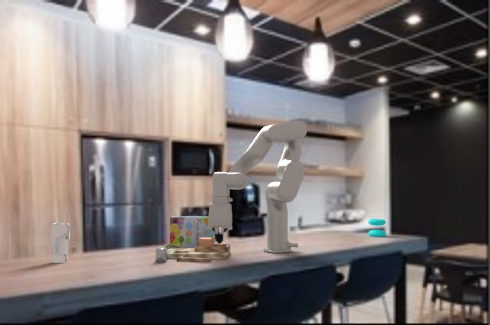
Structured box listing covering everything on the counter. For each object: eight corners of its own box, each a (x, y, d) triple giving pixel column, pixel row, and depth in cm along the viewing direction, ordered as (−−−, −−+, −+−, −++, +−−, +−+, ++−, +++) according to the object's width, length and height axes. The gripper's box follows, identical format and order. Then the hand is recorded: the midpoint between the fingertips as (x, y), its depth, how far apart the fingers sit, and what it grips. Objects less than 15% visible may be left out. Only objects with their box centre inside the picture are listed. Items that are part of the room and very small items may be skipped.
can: (168, 260, 168) (168, 247, 168) (165, 262, 163) (165, 249, 164) (157, 260, 168) (157, 247, 168) (154, 262, 164) (154, 249, 164)
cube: (212, 249, 184) (212, 237, 184) (210, 250, 179) (210, 239, 179) (201, 248, 184) (201, 237, 184) (199, 250, 179) (199, 238, 179)
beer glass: (50, 264, 159) (51, 224, 160) (49, 261, 165) (50, 223, 166) (70, 262, 162) (71, 223, 163) (68, 260, 168) (69, 222, 169)
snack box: (215, 247, 204) (215, 216, 205) (213, 248, 198) (213, 216, 199) (172, 246, 206) (172, 215, 207) (169, 248, 200) (169, 216, 201)
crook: (214, 261, 167) (214, 257, 167) (209, 263, 162) (209, 259, 162) (182, 259, 171) (182, 255, 171) (176, 261, 166) (176, 257, 166)
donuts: (364, 218, 251) (379, 218, 254) (365, 235, 251) (379, 235, 254) (374, 220, 242) (389, 219, 245) (374, 237, 241) (389, 237, 244)
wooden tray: (230, 253, 186) (230, 243, 186) (225, 259, 170) (225, 249, 170) (168, 252, 188) (168, 243, 188) (158, 258, 172) (158, 248, 172)
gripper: (238, 200, 185) (237, 242, 184) (205, 200, 186) (203, 241, 185) (236, 201, 178) (235, 244, 177) (202, 200, 179) (200, 243, 178)
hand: (219, 243), depth 181 cm, fingers closed
